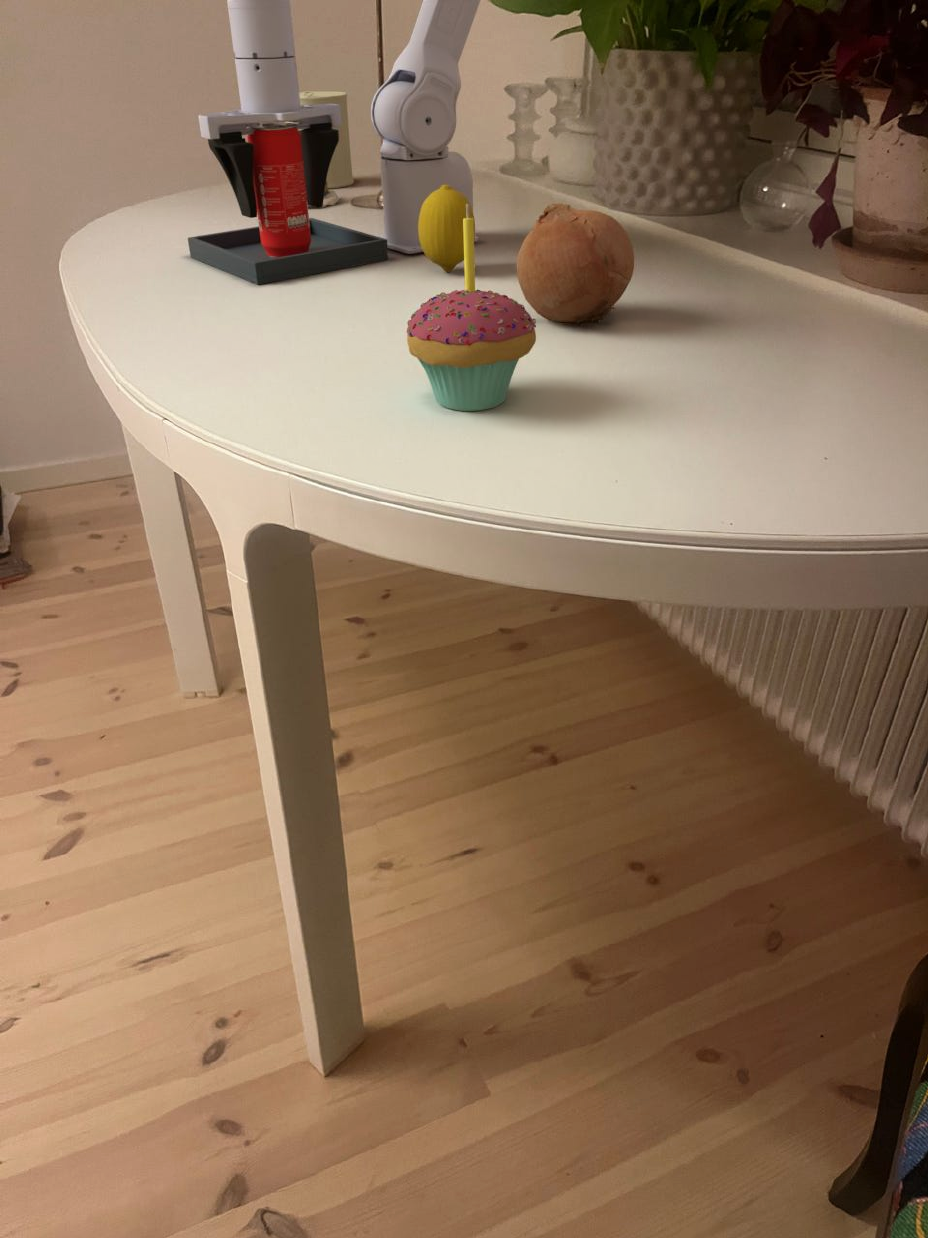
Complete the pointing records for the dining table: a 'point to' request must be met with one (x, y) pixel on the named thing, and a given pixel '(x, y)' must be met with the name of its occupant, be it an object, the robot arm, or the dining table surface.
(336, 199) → the dessert
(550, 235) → the onion
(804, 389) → the dining table surface
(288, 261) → the tray
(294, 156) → the beverage can
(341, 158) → the cream cylindrical container
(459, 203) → the lemon
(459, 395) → the cupcake
